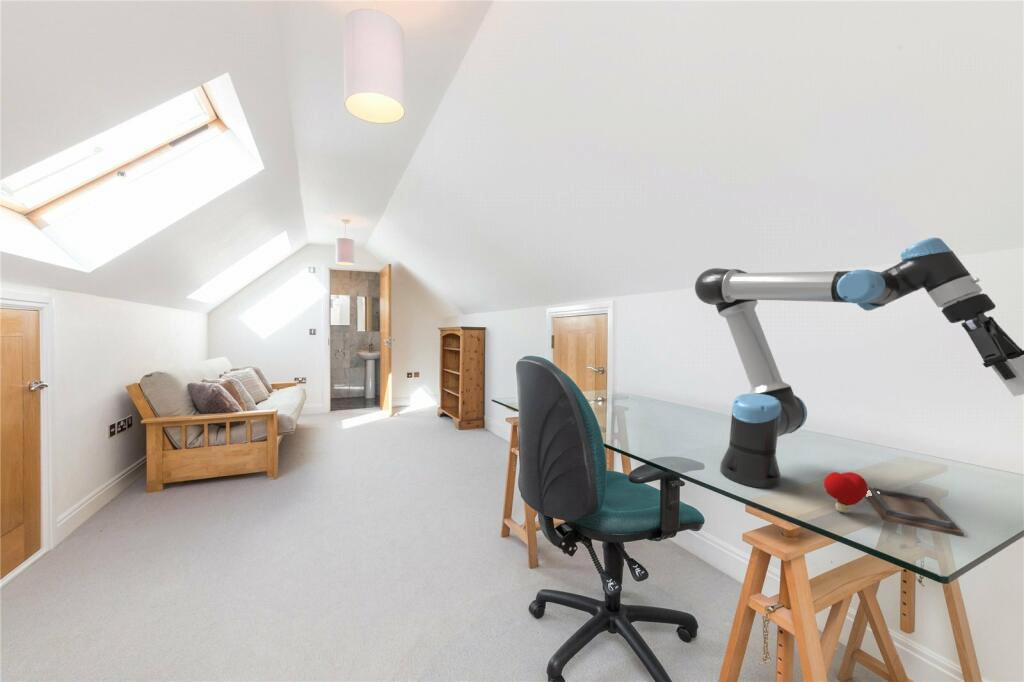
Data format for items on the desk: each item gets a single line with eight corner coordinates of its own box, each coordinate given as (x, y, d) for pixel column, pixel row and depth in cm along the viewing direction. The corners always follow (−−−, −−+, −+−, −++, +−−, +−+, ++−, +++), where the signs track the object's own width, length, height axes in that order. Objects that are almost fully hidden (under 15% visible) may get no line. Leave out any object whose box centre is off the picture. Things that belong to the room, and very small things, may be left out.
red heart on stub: (848, 505, 103) (853, 467, 102) (873, 520, 97) (878, 480, 95) (812, 505, 103) (817, 467, 102) (834, 520, 96) (840, 480, 95)
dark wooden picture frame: (882, 519, 97) (883, 511, 97) (861, 490, 111) (862, 483, 111) (963, 536, 91) (965, 528, 91) (930, 503, 105) (931, 496, 105)
